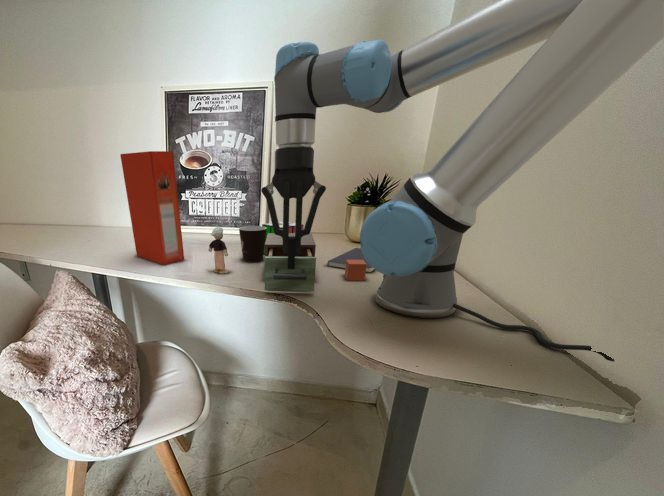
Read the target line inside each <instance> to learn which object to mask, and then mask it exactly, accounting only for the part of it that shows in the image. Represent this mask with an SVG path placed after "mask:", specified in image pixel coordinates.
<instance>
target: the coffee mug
mask: <svg viewBox="0 0 664 496" xmlns="http://www.w3.org/2000/svg"><path fill="white" fill-rule="evenodd" d="M266 229H267V228H266V227H262V225H247V226H241V227H239V228H238V231H239V240H240V247H241V254H242V261H244V262H246V263H259V262H262V261H263V260H264V256H265V254H264V246H265V238H266Z"/></svg>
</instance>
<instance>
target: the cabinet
mask: <svg viewBox="0 0 664 496" xmlns="http://www.w3.org/2000/svg"><path fill="white" fill-rule="evenodd" d="M289 236H295V233H289ZM316 247H317V244H316V242H315V240H314V236H313V233H312V232H310V234H309V235H305V236H303V237H302V238H301V248H310V251H311V254H312V257H316ZM270 248H283V238H282V237H281V236H279V235H275V234H274V233H268V235H267V239H266V242H265V254H264V257H265V256H269V251H270Z"/></svg>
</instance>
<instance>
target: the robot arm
mask: <svg viewBox="0 0 664 496" xmlns="http://www.w3.org/2000/svg"><path fill="white" fill-rule="evenodd" d="M663 39H664V0H493V1H492V2H490V3H487V4H486V5H484V6H482V7H480V8H479V9H476V10H475V11H473V12H470V13H469V14H467V15H465V16H463V17H461V18H460V19H458V20H456V21H454V22H452V23H450V24H448V25H446V26H445V27H442V28H441V29H439V30H437V31H435V32H433V33H431V34H429V35H428V36H425V37H423V38H422V39H420V40H418V41H416V42H415V43H413V44H410V45H409V46H407V47H405V48H404V49H401V50H399V51H398V52H396V53H394V54H392V53H391V50H390V49H389V45H388V43H387V42H386V41H385V40H383V39H375V40H368V41H366V40H363V41H359V42H357V43H355V44H352V45H348V46H345V47H342V48H338V49H334V50H331V51H327V52H324V53H320V49H319V47H318V45H317V44H316V43H315V42H314V43H313V42H310V41H299V42H290V43H288V44H285V45H283V46H282V47H280V48H279V49H278V51H277V53H276V56H275V68H274V69H275V71H274V76H273V81H274V98H275V99H274V107H275V108H274V109H275V111H274V112H275V116H274V145H275V146H276V147H277V148H276V149H275V150H274V167H273V168H274V173H273V176H272V177H271V182H269V183H268V184H267V185H265V186H263V187H262V188H261V189H260V191H261V193H262V195H263V196H264V199H266V203H267V207H268V211H269V217H270V221H271V223H272V225H273V230H274V234H275V235H279V236H281V237H282V238H283V253H288V269H295V253H300V251H301V238H302V237H303V236H305V235H309V234H310V233H311V231H312V227H313V224H314V220H315V217H316V214H317V210H318V207H319V204H320V199H321V198H322V196H323V195H324V193H326V190H327V187H326V185H323V184H321V183H320V182H318V181H317V180H316V175H315V173H314V161H315V160H314V159H315V149H314V148H313V147H312V145H314V144H315V143H316V121H317V119H316V118H317V109H319V108H320V109H321V108H324V107H325V108H326V107H332V106H340V105H347V106H351V107H355V108H358V109H364V110H367V111H370V112H371V113H375V114H382V113H389V112H393V110H396V109H397V108H398V107H400V106H401V105H402V103H403V102H404V101H406V100H408V99H410V98H412V97H414V96H417V95H419V94H422V93H424V92H426V91H428V90H431V89H433V88H435V87H438V86H440V85H442V84H443V85H444V84H445V83H448V82H449V81H452V80H455V79H457V78H459V77H461V76H464V75H466V74H468V73H471V72H474V71H475V70H478V69H481V68H483V67H485V66H487V65H490V64H492V63H494V62H497V61H499V60H502V59H504V58H506V57H508V56H511V55H513V54H516V53H519V52H521V51H522V50H525V49H527V48H529V47H532V46H535V45H537V44H539V43H541V42H544V43H543V44H542V45H541V46H540V47H539V48H538V49H537V50H536V52H535V53H534V54H533V55H532V56H531V57H530V58H529V59H528V60H527V62H526V63H525V64H524V65H522V67H521V68H520V69H519V71H518V72H516V74H515V75H514V76H513V77H512V78H511V79H510V80H509V81H508V83H507V84H506V85H505V86H504V87H503V88H502V90H501V91H499V92H498V94H497V95H496V96H495V97H494V98H493V99H492V100H491V102H490V103H489V104H488V105H487V106H485V108H484V110H483V111H482V112H481V113H479V115H478V116H477V117H476V118H475V120H473V122H472V123H471V124H470V125H469V126H468V127H467V128H466V129H465V130H464V131H463V132H462V134H461V135H460V136H459V137H458V138H457V140H455V142H454V143H453V144H452V145H451V146H450V147H449V148H448V149H447V151H446V152H444V154H443V155H442V156H441V157H440V158H439V160H438V161H437V162H436V163H435V164H434V165H433V166H432V167H431V168H430V169H429V170H427V171H422V172H421V171H420V172H417V173H416V172H415V173H413V174H412V175H411V176H410V177H409V178H408V179H407V180H406V182H405V183H403V185H402V186H401V187H400V188H399V190H397V192H396V193H395V194H394V195H393V196H392V197H391V198H390V200H389V201H388V202H385V203H383V204H381V205H379V206H377V207H376V208H375V209H373V211H371V212H370V213H369V214H368V215H367V217H365V219H364V222H363V223H362V226H361V227H360V232H359V245H360V248H361V251H362V254H363V256H364V258H365V259H366V261H367V262H368V263H369V265H370V266H371V267H373V268H374V269H375V270H374V271H376V272H378V273H380V274H382V276H383V277H382V278H383V279H382V280H381V282H380V285H379V286H378V288H377V290H376V294H375V302H376V303H377V304H378V306H380V307H382V308H384V309H385V310H387V311H389V312H393V313H395V314H399V315H402V316H403V315H404V316H407V317H413V318H421V319H436V318H437V319H439V318H444V317H447V316H448V317H449V316H451V315H452V314H454V313H455V312H456V310H459V311H461V312H463V313H466V314H468V315H471V316H472V317H475V318H477V319H479V320H481V321H483V322H485V323H487V324H489V325H492V326H494V327H497V328H500V329H504V330H523V331H528V332H530V333H532V334H534V336H535V338H537V340H538V341H539V343H541V344H543V345H544V346H547V347H550V348H553V349H558V350H567V351H568V350H569V351H588V352H593V353H596V354H598V355H599V356H602V357H603V358H604V359H605V360H606V361H609V362H615V361H616V360H615V358H613V359H612V358H611V357H609V356H607V355H606V354H604V353H602V352H596V351H591V349H592V348H591V345H584V344H560V343H556V342H552V341H550V340H547V339H546V338H545V337H544V336H543V334H542V333H541V332H540V331H539V330H538V329H536V328H534V327H531V326H527V325H521V324H505V323H500V322H497V321H495V320H493V319H490V318H488V317H486V316H484V315H483V314H481V313H478V312H475V311H473V310H471V309H469V308H466V307H464V306H461V305H460V304H458V298H457V290H456V289H457V288H456V281H455V268H456V265H457V261H458V256H459V252H460V248H461V243H462V240H463V236H464V234H465V233H466V232H467V231H468V230H470V229H471V228H472V227H473V226H474V225H475V224H476V221H477V210H478V207H479V206H480V205H481V204H483V203H484V202H485V200H487V199H488V198H489V197H490V196H491V195H493V194H494V193H495V192H496V191H497V190H498V189H499V188H500V187H501V186H502V185H503V184H505V183H506V182H507V181H508V180H509V179H510V178H511V177H513V176H514V174H516V173H517V172H518V171H519V170H520V169H521V168H523V166H524V165H526V163H528V162H529V161H530V160H531V159H532V158H533V157H534V156H535V155H536V154H538V153H539V152H540V151H541V150H542V149H543V148H544V147H545V146H547V145H548V143H550V142H551V141H552V140H553V139H554V138H555V137H556V136H557V135H559V134H560V132H562V131H563V130H564V129H565V128H566V127H567V126H569V124H571V123H572V122H573V121H574V120H575V119H576V118H578V116H579V115H581V114H582V113H583V112H584V111H585V110H586V109H587V108H589V106H591V105H592V104H593V103H594V102H595V101H596V100H597V99H598V98H599V97H600V96H601V95H602V94H603V93H605V92H606V91H607V90H608V89H609V88H610V87H611V86H612V85H613V84H615V83H616V82H617V81H618V80H619V79H620V78H622V76H623V75H625V74H626V73H627V72H628V71H629V70H630V69H631V68H632V67H633V66H634V65H635V64H637V63H638V62H639V61H640V60H641V59H642V58H643V57H644V56H646V54H648V53H649V52H650V51H651V50H652V49H653V48H654V47H656V46H657V44H659V43H660V42H661V41H662V40H663ZM391 54H392V55H391ZM312 187H313V188H312ZM274 188H275V190H276V191H277V192H278V195H279V196H280V197H281V198H282V199H283V202H282V204H283V207H282V221H283V230H282V229H280V227H279V222H280V221H279V219H278V214H277V210H276V204H275V201H274V196H273V194H274V193H275V191H274ZM311 188H312V193H313V196H312V199H311V202H310V206H309V208H308V209H309V210H308V213H307V216H306V220H305V224H304V229H301V228H302V224H303V223H302V222H303V199H304V198H305V196H306V195H307V194H308V193H309V191H310V190H311ZM290 199H295V222H294V223H295V236H289V222H290Z"/></svg>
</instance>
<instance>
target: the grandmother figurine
mask: <svg viewBox="0 0 664 496" xmlns="http://www.w3.org/2000/svg"><path fill="white" fill-rule="evenodd" d="M223 233H224V229H223V227H221V226H215V227H214V228H213V230H212V231H211V234H210V235H211V236H212V237H214V240H212V241H211V242H210V244H209V245H208V252H210V253H212V252H214V256H213V257H214V259H213V260H214V270H213V273H218V274H220V275H225V274H229V270H228V269H226V263H225V257H228V256H229V253H228V247H227V245H226V243H225V241H223V240H222V239H223V237H224V234H223Z"/></svg>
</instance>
